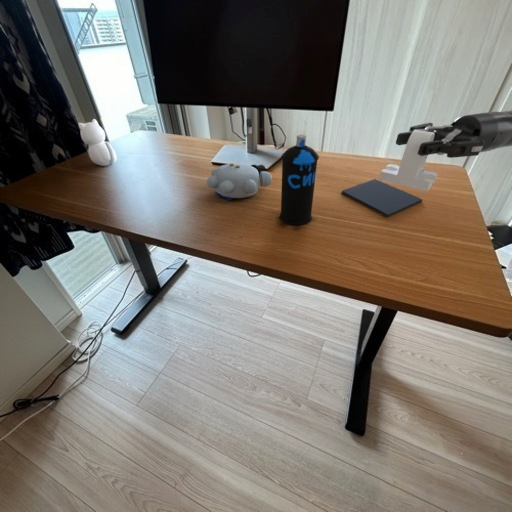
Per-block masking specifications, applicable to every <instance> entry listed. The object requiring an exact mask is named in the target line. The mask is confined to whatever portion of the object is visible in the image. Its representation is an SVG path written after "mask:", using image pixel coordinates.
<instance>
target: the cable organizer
mask: <svg viewBox="0 0 512 512" xmlns="http://www.w3.org/2000/svg"><path fill="white" fill-rule="evenodd" d="M434 135H435V133H433V132H426V131H419V130H414V131H413V132H412V134H411V136H410V138H409V140H408V142H407V144H405V147H404V151H403V154H402V158H401V160H400V164H399V165H398V164H394V163H388V164H387V165H386V166H385V168H382V169H381V171H380V174H379V178H378V180H379V181H381V182H385V183H391V184H393V185H399V186H402V187H407V188H411V189H414V190H419V191H423V192H428V191H429V190H430V189H431V187H432V186H434V184H435V181H436V180H437V177H438V173H437V172H435V171H429V170H424V168H425V165H426V162H427V159H428V156H429V155H424V156H420V155H418V151H419V148H420V145H421V144H422V143H424V142H430V141H433V139H434Z"/></svg>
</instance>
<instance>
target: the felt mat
mask: <svg viewBox="0 0 512 512" xmlns="http://www.w3.org/2000/svg"><path fill="white" fill-rule="evenodd" d="M341 194H342V195H344V196H346V197H348V198H350V199H352V200H353V201H355V202H357V203H359V204H361V205H362V206H365V207H367V208H369V209H371V210H373V211H374V212H376V213H378V214H380V215H382V216H383V217H386V218H389V217H391V216H394V215H395V214H398V213H400V212H402V211H404V210H407V209H410V208H411V207H414V206H416V205H418V204H420V203H422V202H423V199H422V198H420V197H418V196H416V195H414V194H412V193H409V192H407V191H404V190H402V189H400V188H398V187H395V186H393V185H390V184H388V183H387V182H384V181H382V180H379V179H377V178H373V179H371V180H368V181H365V182H362V183H360V184H356V185H354V186H351V187H348V188H345V189H343V190H341Z"/></svg>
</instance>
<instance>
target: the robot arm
mask: <svg viewBox="0 0 512 512" xmlns="http://www.w3.org/2000/svg"><path fill="white" fill-rule="evenodd" d="M414 130H419V131H426V132H433V133H435V135H434V139H433V141H430V142H424V143H422V144H421V145H420V148H419V151H418V155H420V156H424V155H428V156H429V155H435V154H436V155H439V156H444V155H446V157H447V158H449V159H452V158H453V159H454V158H463V157H464V158H465V157H476V156H479V155H480V154H481V153H486V152H490V151H492V150H493V151H494V150H496V149H502V148H507V147H512V109H511V110H503V111H486V112H481V113H474V114H473V113H472V114H466V115H462V116H460V117H458V118H456V119H455V120H454V121H453V122H452V123H451V124H443V125H441V126H440V125H437V126H435V125H434V123H432V122H426V123H421V124H416V125H412V126H410V127H409V130H408V131H405V132H400V133H398V134H397V137H396V140H395V145H397V146H403V145H404V146H406V145H407V142H408V140H409V138H410V136H411V134H412V132H413V131H414Z"/></svg>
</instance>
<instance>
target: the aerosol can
mask: <svg viewBox="0 0 512 512" xmlns="http://www.w3.org/2000/svg"><path fill="white" fill-rule="evenodd" d="M306 142H307V136H306V135H305V134H298V135H296V141H295V143H296V144H295V145H292V146H291V147H288V148H287V149H286V150H285V151H284V152H283V153H282V154H281V157H280V158H281V160H282V161H281V163H282V164H281V195H280V196H281V197H280V198H281V199H280V214H279V219H280V221H281V222H283V223H284V224H286V225H289V226H296V227H299V226H304V225H306V224H309V223H310V222H312V219H313V215H312V210H313V202H314V193H315V184H316V174H317V167H318V161H319V158H320V155H319V154H318V153H317V152H316V151H315V149H314V148H312V147H311V146H308V145H306Z"/></svg>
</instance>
